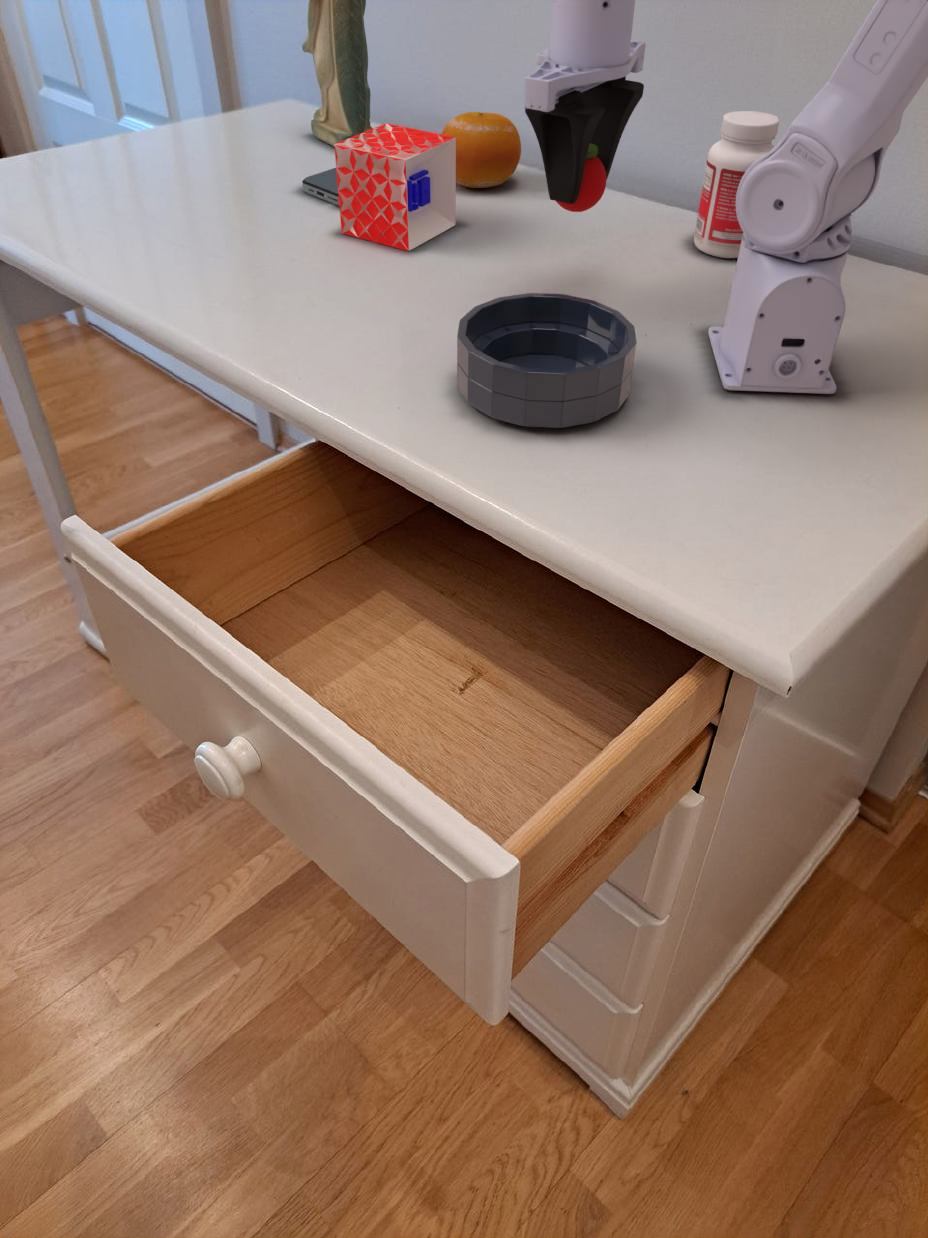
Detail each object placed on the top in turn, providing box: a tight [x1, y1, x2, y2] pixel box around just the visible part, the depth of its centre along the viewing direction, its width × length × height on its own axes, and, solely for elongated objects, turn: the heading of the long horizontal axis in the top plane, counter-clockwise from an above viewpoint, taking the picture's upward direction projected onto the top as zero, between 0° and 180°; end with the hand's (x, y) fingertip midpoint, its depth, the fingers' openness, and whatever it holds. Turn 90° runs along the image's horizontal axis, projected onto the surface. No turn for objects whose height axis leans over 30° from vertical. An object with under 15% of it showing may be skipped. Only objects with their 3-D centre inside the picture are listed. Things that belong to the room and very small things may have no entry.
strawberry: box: [555, 143, 607, 213], centre depth 72 cm, size 4×4×5 cm
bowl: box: [456, 292, 637, 429], centre depth 65 cm, size 12×12×4 cm
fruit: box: [441, 111, 522, 189], centre depth 97 cm, size 8×8×8 cm
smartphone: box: [301, 167, 339, 207], centre depth 98 cm, size 8×2×15 cm
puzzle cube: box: [334, 123, 457, 252], centre depth 87 cm, size 8×8×8 cm
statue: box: [301, 0, 373, 148], centre depth 102 cm, size 7×8×25 cm
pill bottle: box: [693, 110, 780, 259], centre depth 83 cm, size 6×6×11 cm
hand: (577, 191), depth 73 cm, fingers closed on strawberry, 4 cm apart
